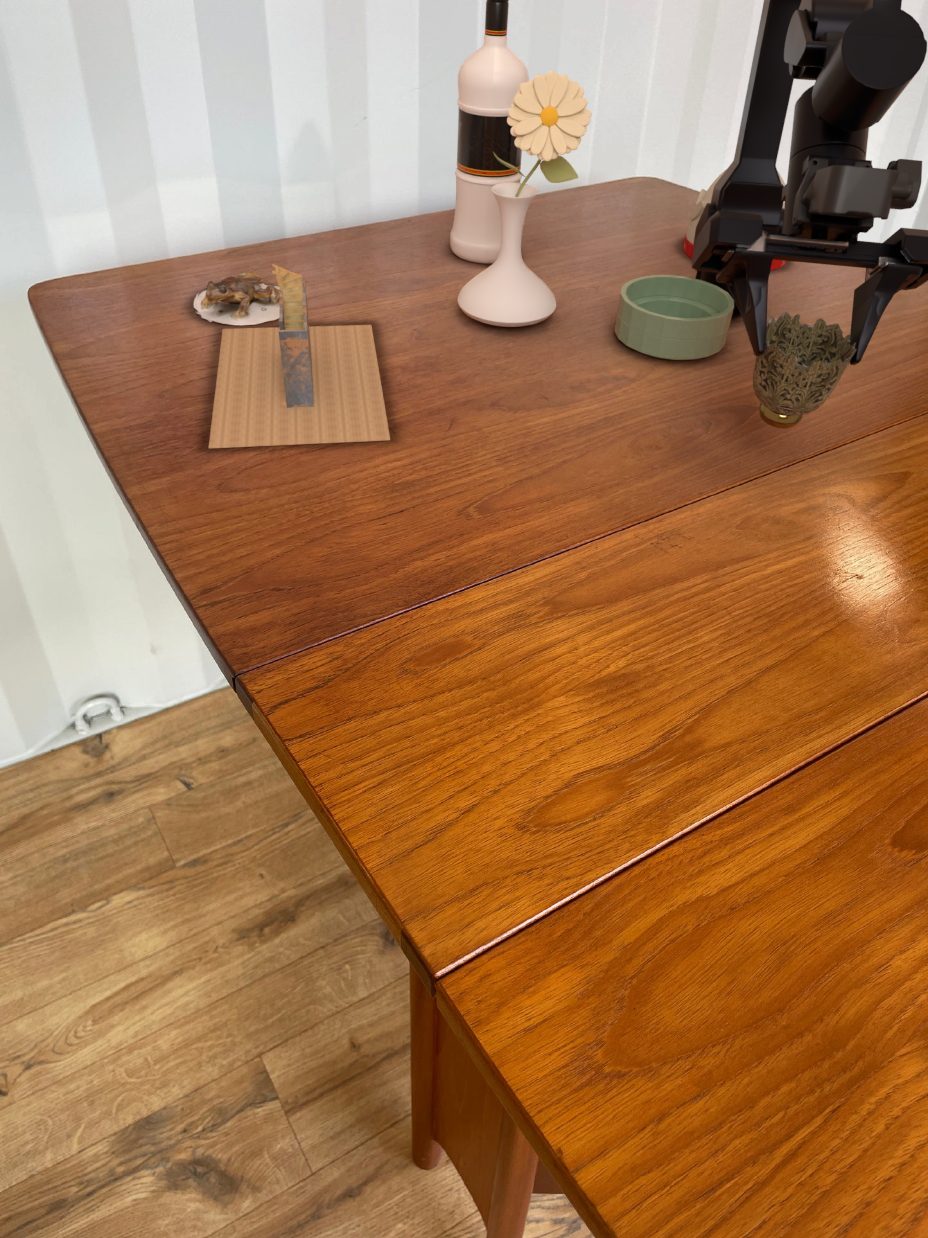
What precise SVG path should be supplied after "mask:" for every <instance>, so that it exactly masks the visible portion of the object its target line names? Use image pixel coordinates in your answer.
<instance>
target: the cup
mask: <svg viewBox="0 0 928 1238" xmlns="http://www.w3.org/2000/svg"><path fill="white" fill-rule="evenodd" d="M800 319H801V315H800V314H799V313H798V314H796V315H794V316H793V318H792V316H791V314H790V313H788V312H784V313H782V314H781V315H780V316H779V317H778V318H777V320H775V317H774V316H771V317H770V318H769V321H767V334H766V341H765V348H764V352H763V354H762V355H761V356H755V361H754V366H753V373H752V386H753V387H752V388H753V391H754V394H755V397H756V398H757V399H758V401H759V402H760V404H759V406H758V413H759V417H760V419H761V420H762V421H763V422H764V423H766V424H767V425H768V426H771V427H773V428H777V429H781V430H782V429H786V430H787V429H792V428H794V427H796V426H797V425H798V424H799V423H800V422H801V421H802V419H803V416H804V415H807V414H808V415H809V414H810V413H813V412H814V411H816V410H817V409H819V408H820V407H821V406H822V405H823V404H824V403H825V402H826V401H827V400H828V398H829V397H830V396H831V394H832V393H833V391H834V390H835V388H836V386H837V384H838V383H839V382H840V380H841V378H842V376H843V374H844V373H845V372H846V369H847V367H848V366H849V365H850V360H851V359H852V357H853V355H854V354H855V352H856V349H855V345H856V342H855V343H853V344H852V345H851V346H850V345H849V344H850V338H851V334H847V335H846V336H845V337H844V336H843V330H842V329H841V326H840V324H839V323H832V324H827V323H826V320H824V319H823V318H822V317H820V318H818V319H816V321H815V322H814V324H813V325H812V326H810V325H809V324H808V323H801V321H800Z"/></svg>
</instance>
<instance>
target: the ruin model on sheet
mask: <svg viewBox="0 0 928 1238" xmlns="http://www.w3.org/2000/svg"><path fill="white" fill-rule="evenodd" d="M272 268H275V269H274V270H271V274H272V275H275V277H276V278H275V279H276V282H277V285H278V286H279V287H280V292H279V297H280V309H279V319H278V326H277V327H276V326H275V327H242V328H241V327H240V328H238V327H237V328H222V330H221V331H222V332H221V339H220V340H221V341H220V348H219V355H218V366H217V373H216V383H215V391H214V399H213V407H212V416H211V425H210V432H209V439H208V449H227V448H228V449H229V448H230V449H231V448H248V447H271V446H272V447H273V446H293V445H294V446H295V445H314V444H315V445H316V444H336V443H358V442H359V443H361V442H363V443H364V442H378V441H379V442H382V441H384V442H385V441H391V436H390V435H391V434H390V429H389V423H388V418H387V412H386V406H385V399H384V393H383V387H382V382H381V374H380V370H379V363H378V356H377V351H376V350H377V349H376V345H375V339H374V333H373V332H374V331H373V327H372V324H352V325H317V326H315V325H313V326H310V322H309V321H310V320H309V309H308V298H307V286H306V282H305V281H303V274H299V273H297V272H293V271H291V270H288V269H287V268H284V267H282V266H279V265H277V264H275V263H272Z"/></svg>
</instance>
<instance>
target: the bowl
mask: <svg viewBox="0 0 928 1238" xmlns="http://www.w3.org/2000/svg"><path fill="white" fill-rule="evenodd" d="M617 305H618V306H617V313H616V318H615V325H614V330H613V331H614V334H615V335H616V337H617V339H618V340H619V341H620V342H622V343H623V344H624V345H625V346H627V347H628V348H631V349H632V350H634V351H637V352H639V353H640V354H644V355H646V356H650V357H653V358H658V359H662V360H671V361H687V360H688V361H689V360H698V359H703V358H708V357H711V356H713V355H715V354H717V353H719V352H720V351H721V350H722V349H723V347H725V345H726V341H727V337H728V333H729V329H730V326H731V321H732V320H731V317H732V313H733V309H734V300H733V298H732V297H731V296H730V294H729V293H728V292H726V291H725V290H723V289H721V288H720V287H718V286H716V285H713V284H711V283H708V282H706V281H703V280H698V279H695V278H694V277H691V276H685V275H683V276H682V275H675V274H651V275H646V276H638V277H636V278H633V279H630V280H628V281H627V282H626V283H624V284H623V285H621V289H620V292H619V298H618V304H617Z"/></svg>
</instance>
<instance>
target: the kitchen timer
mask: <svg viewBox="0 0 928 1238" xmlns="http://www.w3.org/2000/svg"><path fill="white" fill-rule="evenodd" d="M727 169H728V167H727V168H726V169H725V170H723V172H721V174H719V175H718V176H717V177H716V178H715V180H714V181H713V182H712V183H711V184H710V186H709V187H708V188H707V190H706V189H704V188H701V190H700V192H699V194H698V197H697V199H696V202H695V205H694V207H693V209H692V213H691V215H690V218H689V219H690V221H689V223H688V226H687V229H686V232H685V236H684V240H683V241H684V242H683V246H682V248H683V251H684V253H685V254H686V255H687V256H688V257H689V258H690V259H691V260H693V250H694V248H693V244H694V237H695V231H696V226H697V224H698V222H699V220H700V217H701V215H702V213H703V211H704V208H705V206H706V204H707V203H711V199H712V194H713V189H714V186H715V184H716V183H717V182H718V180H719V179H720V178H721V176H722V175H723V174H724V172H725V171H726V170H727ZM777 172H778V175H779V178H780V181H781V184H783V186H785V185H786V183H785V181H784V179H783V177H782V176H781V174H780V172H779V170H777ZM782 208H785V201H784V202H783V207H782ZM786 264H787V261H784V260H773V261H772V265H771V270H770V272H771V271H773V270H777V269H780V268H782V267H783V266H784V265H786Z"/></svg>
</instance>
